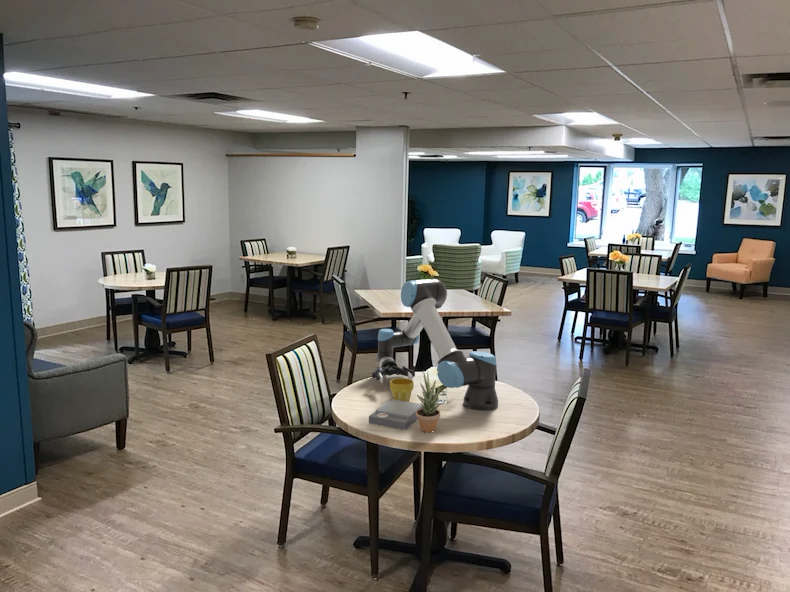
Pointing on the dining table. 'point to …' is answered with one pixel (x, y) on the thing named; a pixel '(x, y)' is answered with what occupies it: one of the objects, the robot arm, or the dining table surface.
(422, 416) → the potted plant
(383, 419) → the kitchen scale
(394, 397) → the plant pot
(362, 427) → the dining table surface
